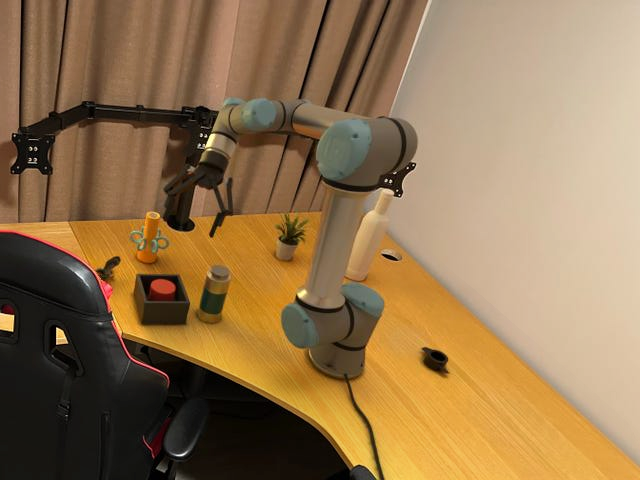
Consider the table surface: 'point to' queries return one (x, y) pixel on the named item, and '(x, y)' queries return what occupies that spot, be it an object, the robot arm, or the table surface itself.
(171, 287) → the cap
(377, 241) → the bottle
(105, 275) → the eagle figurine
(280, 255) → the house plant
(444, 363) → the black flanged ring
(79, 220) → the table surface
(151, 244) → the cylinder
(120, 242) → the table surface
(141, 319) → the bin
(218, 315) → the spray can
